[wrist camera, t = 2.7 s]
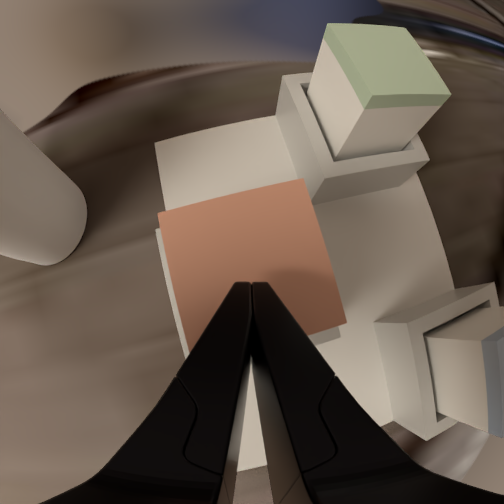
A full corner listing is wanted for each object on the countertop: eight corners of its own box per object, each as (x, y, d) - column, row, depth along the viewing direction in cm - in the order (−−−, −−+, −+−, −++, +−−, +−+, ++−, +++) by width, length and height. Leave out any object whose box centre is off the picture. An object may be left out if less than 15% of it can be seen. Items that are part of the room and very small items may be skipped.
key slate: (485, 376, 15) (555, 387, 8) (431, 409, 14) (501, 438, 8) (475, 308, 15) (550, 300, 9) (419, 336, 15) (496, 341, 9)
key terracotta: (305, 319, 15) (347, 323, 9) (211, 344, 15) (192, 365, 8) (279, 229, 16) (303, 178, 10) (188, 252, 15) (157, 213, 9)
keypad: (469, 378, 18) (508, 386, 13) (236, 470, 16) (236, 507, 12) (382, 104, 22) (404, 69, 17) (155, 144, 20) (137, 106, 16)
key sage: (399, 152, 17) (451, 94, 11) (332, 163, 17) (372, 95, 10) (369, 92, 18) (405, 27, 12) (305, 98, 17) (327, 23, 11)
